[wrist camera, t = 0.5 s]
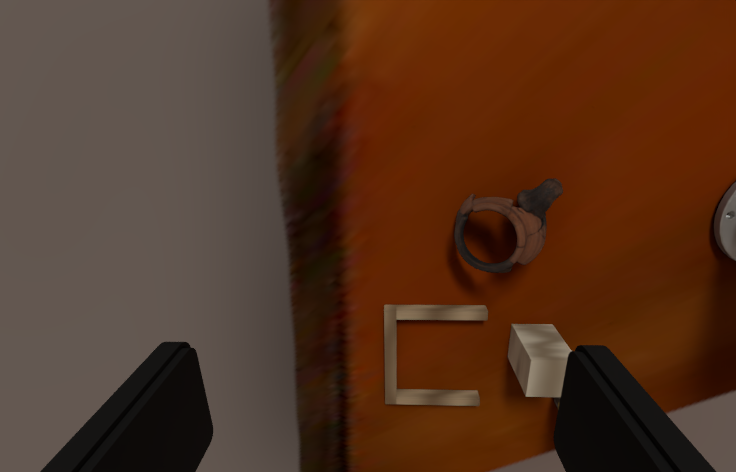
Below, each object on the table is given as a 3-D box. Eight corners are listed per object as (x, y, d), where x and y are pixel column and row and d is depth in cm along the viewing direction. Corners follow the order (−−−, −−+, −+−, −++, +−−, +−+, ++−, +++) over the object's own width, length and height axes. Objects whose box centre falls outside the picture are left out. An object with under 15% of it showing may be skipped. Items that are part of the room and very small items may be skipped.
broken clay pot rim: (514, 272, 46) (495, 298, 39) (456, 220, 48) (428, 237, 42) (593, 197, 39) (586, 214, 32) (521, 142, 42) (500, 147, 35)
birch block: (552, 324, 47) (578, 360, 41) (546, 357, 49) (571, 397, 42) (511, 323, 48) (531, 360, 41) (507, 356, 49) (525, 396, 43)
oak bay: (485, 305, 47) (488, 311, 45) (476, 397, 52) (479, 405, 50) (384, 304, 47) (384, 311, 46) (385, 395, 52) (385, 404, 51)
